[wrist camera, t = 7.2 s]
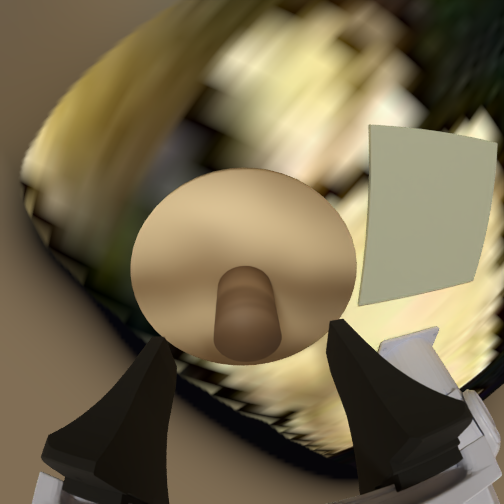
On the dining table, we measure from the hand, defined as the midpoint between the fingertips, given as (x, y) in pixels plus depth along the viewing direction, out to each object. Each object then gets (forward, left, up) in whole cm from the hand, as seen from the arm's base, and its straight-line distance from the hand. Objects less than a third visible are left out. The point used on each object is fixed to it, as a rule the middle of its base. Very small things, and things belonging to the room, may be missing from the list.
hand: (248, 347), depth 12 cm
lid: (0, 0, -5) cm, 5 cm away
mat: (+1, -17, -10) cm, 20 cm away
